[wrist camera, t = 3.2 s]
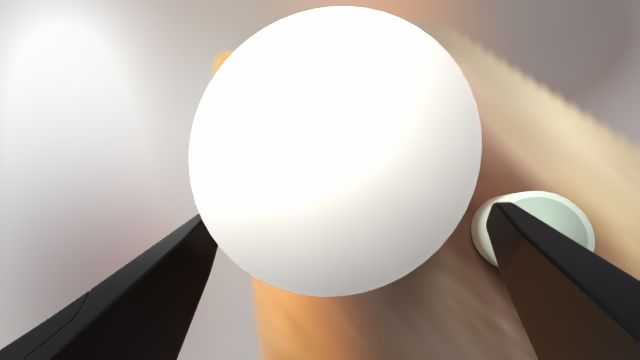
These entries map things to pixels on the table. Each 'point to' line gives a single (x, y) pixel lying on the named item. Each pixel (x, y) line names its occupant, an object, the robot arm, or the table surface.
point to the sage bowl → (544, 208)
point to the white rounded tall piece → (335, 151)
